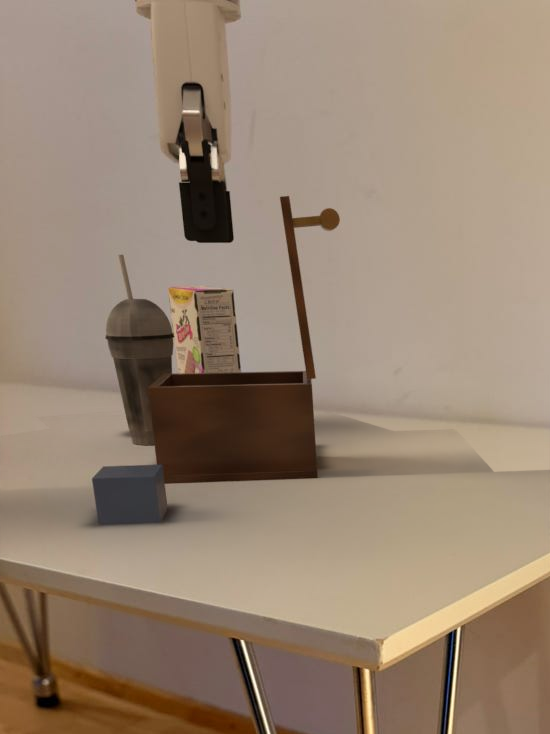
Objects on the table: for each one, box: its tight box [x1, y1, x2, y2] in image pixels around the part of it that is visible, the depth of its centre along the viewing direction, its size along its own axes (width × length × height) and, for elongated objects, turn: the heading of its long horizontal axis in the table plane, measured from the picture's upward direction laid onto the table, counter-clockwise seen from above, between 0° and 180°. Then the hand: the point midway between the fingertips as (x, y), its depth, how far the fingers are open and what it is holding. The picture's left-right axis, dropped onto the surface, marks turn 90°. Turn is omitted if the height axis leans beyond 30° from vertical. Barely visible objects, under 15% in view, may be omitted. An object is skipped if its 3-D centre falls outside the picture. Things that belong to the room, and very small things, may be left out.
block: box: [91, 464, 169, 526], centre depth 76 cm, size 4×4×4 cm
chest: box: [148, 370, 319, 485], centre depth 96 cm, size 15×12×9 cm
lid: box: [279, 195, 341, 380], centre depth 93 cm, size 15×12×5 cm
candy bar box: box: [167, 285, 242, 373], centre depth 120 cm, size 11×5×16 cm, turn 32°
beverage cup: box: [105, 254, 174, 446], centre depth 109 cm, size 7×7×20 cm
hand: (211, 241), depth 79 cm, fingers open, 9 cm apart
